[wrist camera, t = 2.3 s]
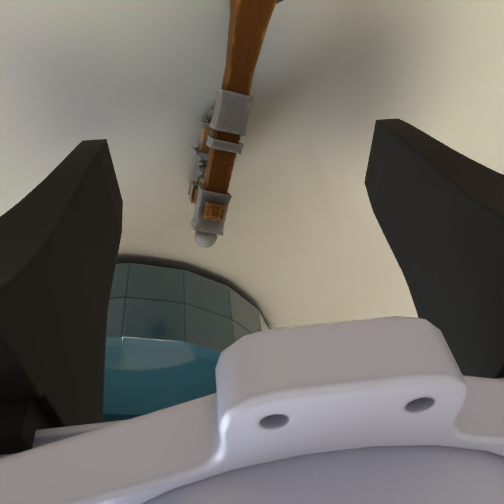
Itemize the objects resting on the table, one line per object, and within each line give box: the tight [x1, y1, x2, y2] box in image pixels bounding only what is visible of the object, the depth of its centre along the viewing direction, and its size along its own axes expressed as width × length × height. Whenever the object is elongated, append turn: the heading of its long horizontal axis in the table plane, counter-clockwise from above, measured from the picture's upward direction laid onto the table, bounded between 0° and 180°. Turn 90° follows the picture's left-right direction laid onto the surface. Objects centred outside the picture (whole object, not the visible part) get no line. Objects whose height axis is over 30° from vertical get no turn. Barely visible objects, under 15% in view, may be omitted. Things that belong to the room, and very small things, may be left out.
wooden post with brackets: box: [188, 0, 283, 248], centre depth 15 cm, size 2×8×4 cm, turn 163°
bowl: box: [103, 263, 269, 422], centre depth 25 cm, size 15×15×4 cm
